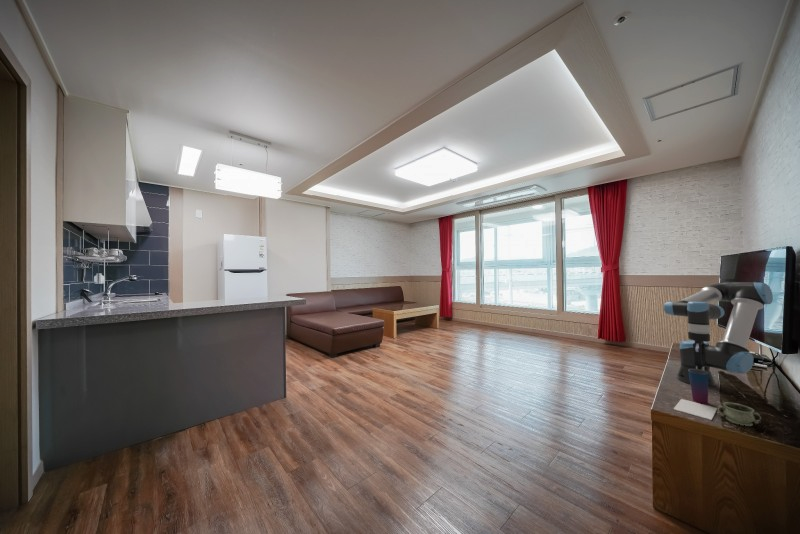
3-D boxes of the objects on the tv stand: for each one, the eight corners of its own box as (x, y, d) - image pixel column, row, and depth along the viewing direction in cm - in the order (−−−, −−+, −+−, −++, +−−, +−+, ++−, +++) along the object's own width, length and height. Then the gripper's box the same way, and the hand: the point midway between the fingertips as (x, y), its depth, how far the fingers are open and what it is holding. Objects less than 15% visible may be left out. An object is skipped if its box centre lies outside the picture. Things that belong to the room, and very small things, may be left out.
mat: (681, 399, 139) (681, 398, 139) (717, 408, 129) (717, 408, 129) (673, 409, 130) (673, 408, 130) (711, 420, 120) (711, 419, 120)
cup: (689, 396, 141) (687, 367, 141) (708, 400, 137) (706, 370, 137) (691, 402, 136) (689, 372, 136) (712, 406, 132) (710, 375, 132)
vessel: (720, 421, 120) (719, 406, 120) (716, 412, 126) (715, 399, 126) (765, 431, 112) (764, 415, 112) (758, 421, 118) (757, 406, 118)
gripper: (691, 329, 147) (692, 373, 147) (685, 332, 140) (687, 379, 139) (712, 331, 141) (713, 378, 140) (707, 335, 134) (709, 384, 133)
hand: (700, 378), depth 140 cm, fingers closed
